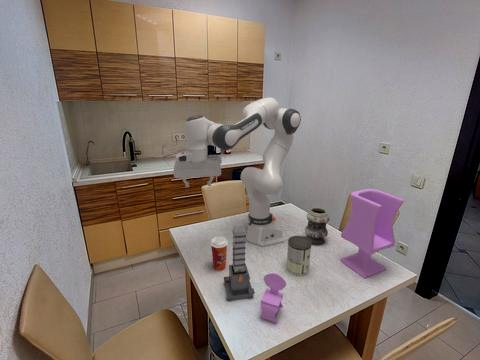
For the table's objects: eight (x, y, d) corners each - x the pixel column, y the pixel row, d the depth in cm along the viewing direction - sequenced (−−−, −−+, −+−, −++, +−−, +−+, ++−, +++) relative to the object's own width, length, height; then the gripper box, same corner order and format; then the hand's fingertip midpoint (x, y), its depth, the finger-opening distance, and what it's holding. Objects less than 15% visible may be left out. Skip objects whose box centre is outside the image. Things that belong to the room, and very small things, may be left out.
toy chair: (256, 317, 91) (258, 283, 86) (264, 300, 99) (266, 267, 94) (279, 325, 88) (282, 290, 83) (285, 307, 96) (288, 274, 91)
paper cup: (221, 274, 113) (221, 247, 108) (207, 268, 116) (206, 241, 112) (231, 265, 119) (231, 238, 114) (218, 259, 123) (217, 234, 118)
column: (243, 265, 103) (243, 225, 97) (245, 272, 99) (245, 231, 93) (232, 266, 102) (232, 226, 96) (234, 273, 98) (234, 232, 92)
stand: (248, 279, 110) (249, 258, 106) (254, 298, 100) (255, 276, 96) (223, 282, 108) (223, 261, 104) (227, 301, 98) (226, 279, 94)
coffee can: (287, 259, 123) (289, 233, 119) (309, 264, 120) (312, 237, 116) (284, 272, 114) (286, 245, 110) (307, 278, 111) (310, 250, 106)
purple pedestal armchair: (364, 280, 110) (379, 206, 99) (337, 260, 123) (347, 192, 112) (388, 270, 116) (405, 199, 105) (360, 252, 129) (372, 187, 118)
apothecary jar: (322, 234, 146) (326, 205, 140) (329, 246, 134) (334, 215, 129) (301, 234, 145) (304, 205, 140) (307, 246, 134) (310, 215, 128)
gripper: (220, 153, 112) (221, 182, 117) (172, 154, 109) (175, 185, 113) (222, 156, 106) (222, 187, 111) (171, 157, 103) (174, 190, 107)
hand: (198, 186), depth 112 cm, fingers open, 8 cm apart
